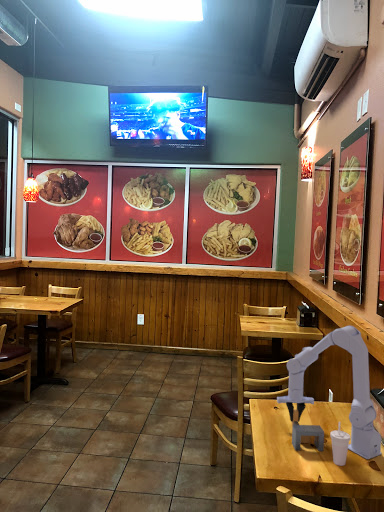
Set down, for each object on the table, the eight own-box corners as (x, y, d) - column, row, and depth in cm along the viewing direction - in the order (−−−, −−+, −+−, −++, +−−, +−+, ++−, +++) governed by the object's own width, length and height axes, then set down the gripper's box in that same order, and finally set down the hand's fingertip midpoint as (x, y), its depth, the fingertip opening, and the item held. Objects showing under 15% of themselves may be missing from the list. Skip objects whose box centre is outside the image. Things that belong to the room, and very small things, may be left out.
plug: (310, 443, 150) (310, 427, 150) (299, 442, 150) (300, 426, 150) (299, 424, 166) (299, 409, 166) (289, 423, 166) (289, 409, 166)
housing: (323, 451, 145) (324, 431, 144) (295, 450, 145) (295, 431, 144) (319, 444, 150) (319, 425, 149) (291, 443, 150) (292, 424, 149)
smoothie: (325, 459, 139) (326, 419, 138) (339, 456, 142) (341, 416, 141) (338, 469, 133) (340, 427, 133) (353, 465, 136) (355, 424, 135)
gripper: (310, 384, 169) (309, 416, 169) (275, 383, 169) (274, 415, 169) (316, 390, 162) (314, 424, 162) (279, 389, 162) (278, 423, 162)
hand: (294, 420), depth 165 cm, fingers closed on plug, 2 cm apart
